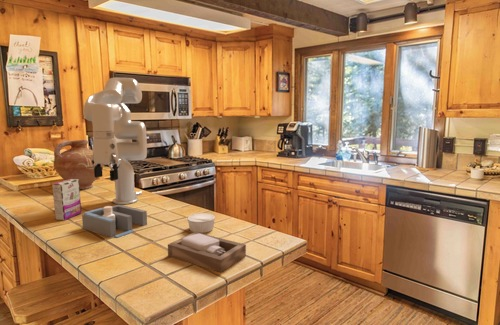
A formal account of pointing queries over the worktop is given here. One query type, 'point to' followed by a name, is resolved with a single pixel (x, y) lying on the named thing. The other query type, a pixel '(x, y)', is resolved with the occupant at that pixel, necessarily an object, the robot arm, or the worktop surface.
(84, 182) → the jug
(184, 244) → the charger
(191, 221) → the ramekin
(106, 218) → the shelf rack
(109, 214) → the pepper shaker
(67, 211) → the candy bar box
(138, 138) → the robot arm
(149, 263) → the worktop surface
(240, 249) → the dispenser tray
